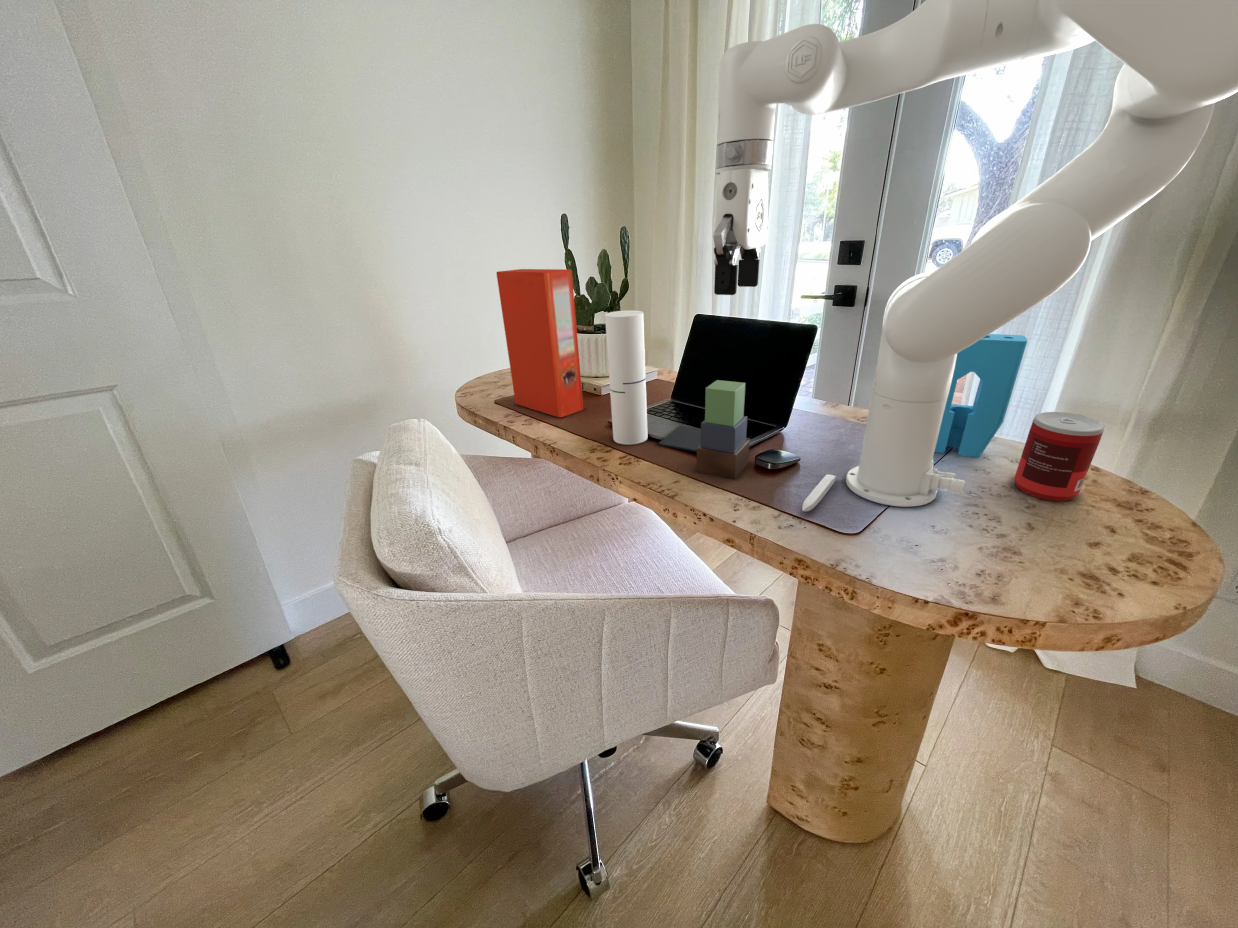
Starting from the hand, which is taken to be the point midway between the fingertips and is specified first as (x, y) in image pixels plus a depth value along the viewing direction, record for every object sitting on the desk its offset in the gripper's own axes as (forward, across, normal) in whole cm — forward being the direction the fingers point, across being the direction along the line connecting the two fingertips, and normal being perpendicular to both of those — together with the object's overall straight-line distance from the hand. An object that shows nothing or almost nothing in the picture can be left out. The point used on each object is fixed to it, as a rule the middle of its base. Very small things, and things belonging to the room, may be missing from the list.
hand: (736, 290), depth 75 cm
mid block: (+25, -2, 0) cm, 25 cm away
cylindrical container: (+30, +3, +22) cm, 38 cm away
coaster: (+30, +7, +10) cm, 32 cm away
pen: (+30, -6, -17) cm, 35 cm away
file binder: (+30, +12, +51) cm, 61 cm away
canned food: (+29, +12, -46) cm, 55 cm away
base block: (+30, -2, 0) cm, 30 cm away
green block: (+21, -2, 0) cm, 21 cm away
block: (+30, +22, -34) cm, 50 cm away
